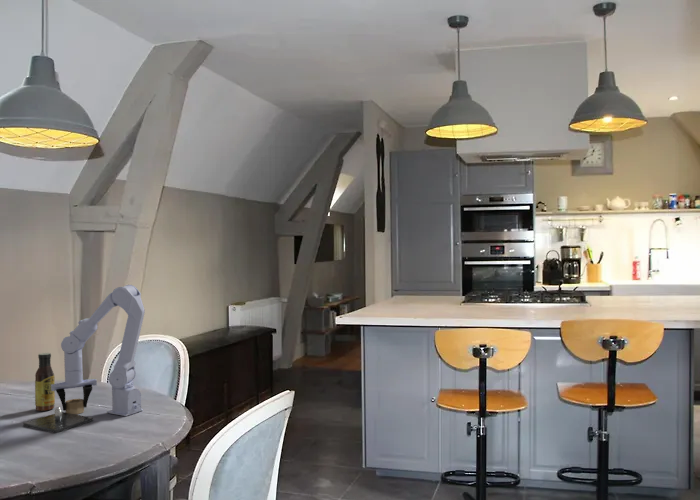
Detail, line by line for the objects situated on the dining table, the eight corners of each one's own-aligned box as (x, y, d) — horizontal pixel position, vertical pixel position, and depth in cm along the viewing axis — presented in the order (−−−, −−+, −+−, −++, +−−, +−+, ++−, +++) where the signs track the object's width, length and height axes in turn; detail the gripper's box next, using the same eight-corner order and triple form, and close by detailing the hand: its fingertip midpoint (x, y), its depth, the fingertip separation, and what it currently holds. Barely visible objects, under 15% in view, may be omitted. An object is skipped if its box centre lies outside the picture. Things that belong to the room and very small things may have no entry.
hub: (92, 420, 210) (92, 404, 210) (55, 432, 198) (55, 415, 197) (61, 414, 217) (60, 399, 217) (23, 426, 205) (22, 409, 205)
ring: (87, 411, 221) (86, 399, 221) (73, 415, 216) (73, 403, 216) (76, 409, 224) (76, 398, 224) (62, 413, 219) (62, 402, 219)
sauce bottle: (47, 412, 221) (45, 355, 220) (31, 411, 222) (29, 355, 221) (59, 407, 227) (57, 352, 226) (44, 406, 228) (42, 351, 228)
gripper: (93, 365, 227) (94, 402, 227) (49, 370, 219) (50, 408, 220) (97, 368, 221) (98, 407, 221) (51, 374, 213) (53, 413, 214)
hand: (74, 408), depth 220 cm, fingers open, 6 cm apart
